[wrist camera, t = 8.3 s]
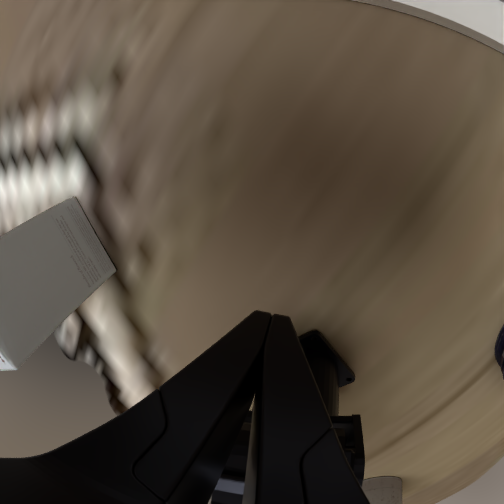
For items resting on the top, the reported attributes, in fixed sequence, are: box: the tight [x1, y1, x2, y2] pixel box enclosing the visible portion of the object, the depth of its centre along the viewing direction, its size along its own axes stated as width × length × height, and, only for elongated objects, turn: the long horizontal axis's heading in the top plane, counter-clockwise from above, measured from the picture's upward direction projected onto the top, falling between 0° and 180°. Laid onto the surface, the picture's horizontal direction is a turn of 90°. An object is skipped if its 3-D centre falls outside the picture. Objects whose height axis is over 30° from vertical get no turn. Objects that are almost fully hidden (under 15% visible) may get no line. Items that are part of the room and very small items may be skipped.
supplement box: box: [0, 197, 116, 371], centre depth 18 cm, size 7×7×13 cm
